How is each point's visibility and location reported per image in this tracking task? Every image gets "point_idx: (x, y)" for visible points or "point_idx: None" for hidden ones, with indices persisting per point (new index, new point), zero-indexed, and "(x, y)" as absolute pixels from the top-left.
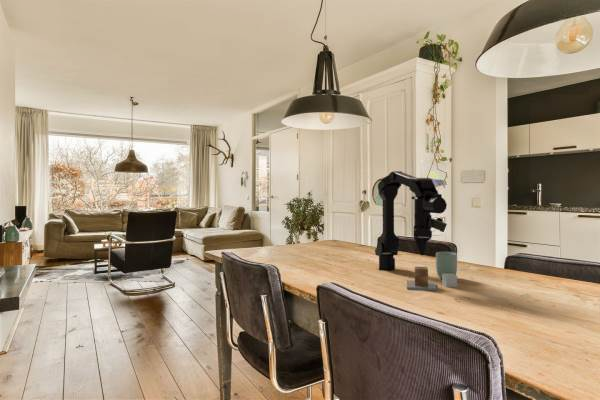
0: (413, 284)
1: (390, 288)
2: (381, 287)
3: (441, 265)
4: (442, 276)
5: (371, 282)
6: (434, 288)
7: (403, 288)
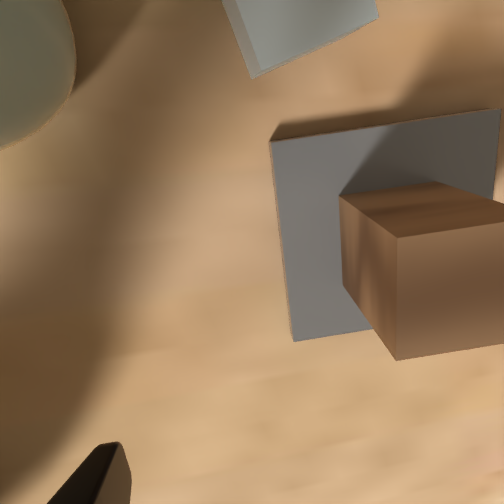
0: None
1: (465, 386)
2: (451, 428)
3: (38, 83)
4: (272, 67)
5: (353, 493)
6: (496, 127)
7: None
